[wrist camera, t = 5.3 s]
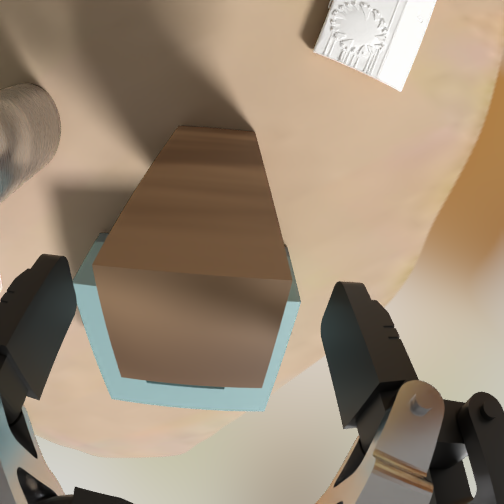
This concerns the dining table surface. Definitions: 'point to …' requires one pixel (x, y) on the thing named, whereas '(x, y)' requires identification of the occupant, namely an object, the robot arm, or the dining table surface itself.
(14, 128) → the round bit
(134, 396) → the socket block
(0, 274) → the jar
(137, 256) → the square peg
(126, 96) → the dining table surface
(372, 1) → the white long flat piece
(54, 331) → the robot arm
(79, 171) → the dining table surface
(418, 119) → the dining table surface
